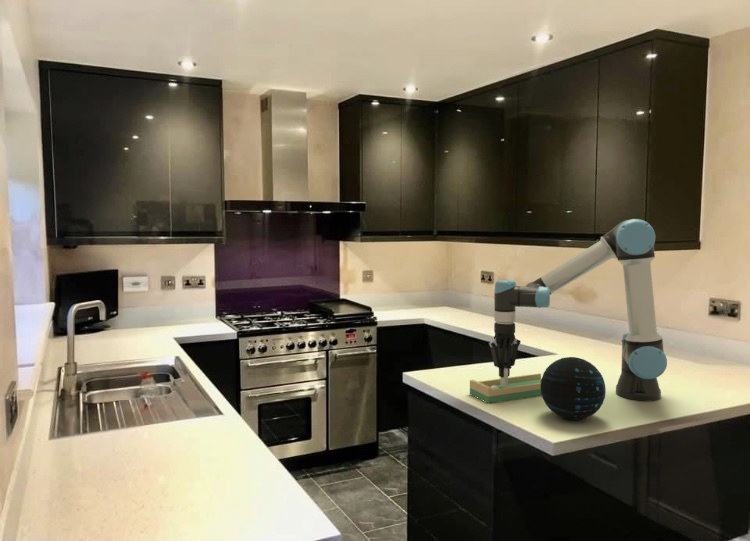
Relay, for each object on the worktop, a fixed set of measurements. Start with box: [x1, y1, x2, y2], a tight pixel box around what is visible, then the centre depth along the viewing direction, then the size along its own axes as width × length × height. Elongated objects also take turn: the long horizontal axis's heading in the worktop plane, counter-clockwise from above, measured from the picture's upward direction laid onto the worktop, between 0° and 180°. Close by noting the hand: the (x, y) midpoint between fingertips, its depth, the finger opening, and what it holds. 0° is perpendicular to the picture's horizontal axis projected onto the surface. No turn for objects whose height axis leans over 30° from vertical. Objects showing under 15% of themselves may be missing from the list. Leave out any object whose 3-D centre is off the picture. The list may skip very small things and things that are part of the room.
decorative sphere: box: [540, 356, 607, 421], centre depth 184 cm, size 20×20×20 cm
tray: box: [469, 372, 542, 404], centre depth 212 cm, size 12×32×6 cm, turn 113°
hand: (504, 385), depth 210 cm, fingers closed
